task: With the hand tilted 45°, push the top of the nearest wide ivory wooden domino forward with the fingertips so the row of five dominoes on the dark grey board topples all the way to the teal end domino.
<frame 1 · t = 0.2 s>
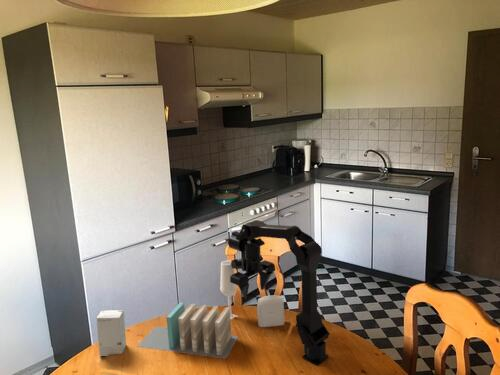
hand: (253, 293, 155), 15 cm above the table, tool pointing down, fingers open, 9 cm apart
domino 1: (224, 345, 147), point 1 cm above the table, touching domino board
domino 2: (212, 344, 148), point 1 cm above the table, touching domino board
skincare box: (114, 352, 148), on the table
domino 5: (178, 339, 152), point 1 cm above the table, touching domino board
domino 4: (189, 341, 150), point 1 cm above the table, touching domino board
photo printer: (271, 326, 160), on the table
champagne flute: (230, 319, 167), on the table
domino board: (188, 343, 151), on the table
domino 3: (201, 342, 149), point 1 cm above the table, touching domino board
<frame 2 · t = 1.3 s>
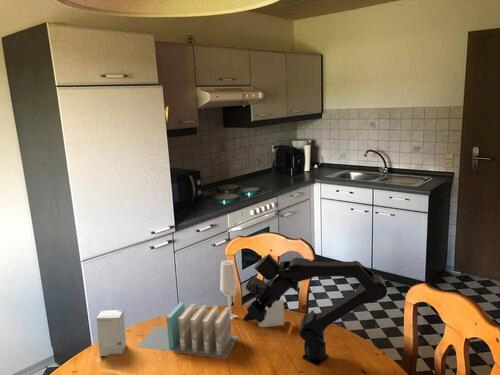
hand: (246, 315, 142), 14 cm above the table, tool tilted 45°, fingers open, 6 cm apart
nothing on the table moved.
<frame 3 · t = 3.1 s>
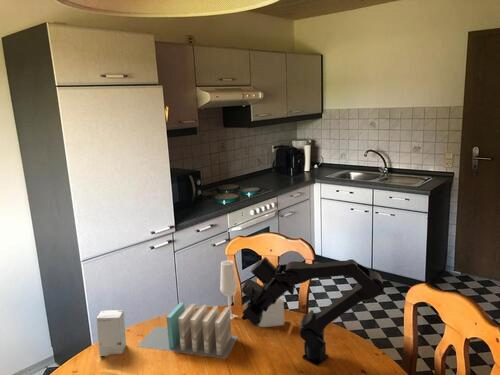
hand: (242, 318, 142), 12 cm above the table, tool tilted 45°, fingers closed
nothing on the table moved.
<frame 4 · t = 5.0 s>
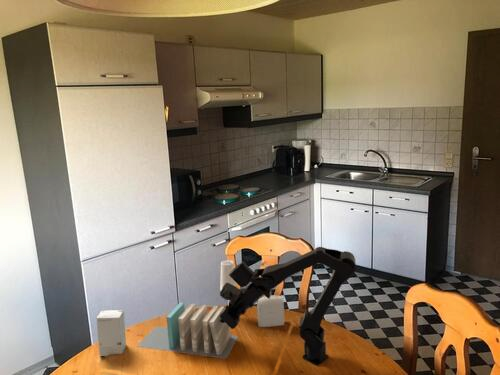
hand: (221, 321, 145), 10 cm above the table, tool tilted 45°, fingers closed
domino 1: (224, 345, 147), point 1 cm above the table, tilted 10°, touching domino board
everything else where it was.
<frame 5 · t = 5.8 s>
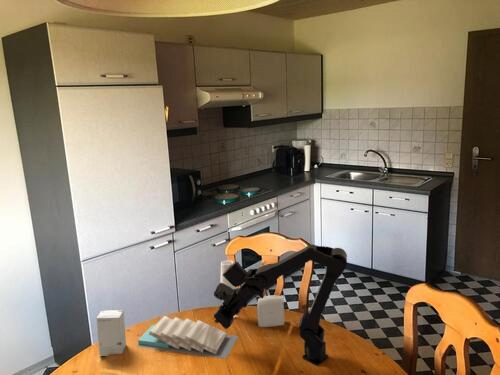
hand: (215, 321, 145), 10 cm above the table, tool tilted 45°, fingers closed
domino 1: (221, 343, 147), point 2 cm above the table, tilted 70°, touching domino 2, domino board
domino 2: (208, 341, 148), point 2 cm above the table, tilted 69°, touching domino 1, domino 3, domino board
domino 5: (175, 337, 152), point 2 cm above the table, tilted 90°, touching domino 4, domino board
domino 4: (185, 338, 151), point 2 cm above the table, tilted 68°, touching domino 3, domino 5
domino 3: (197, 340, 149), point 2 cm above the table, tilted 68°, touching domino 2, domino 4, domino board
everything else where it was.
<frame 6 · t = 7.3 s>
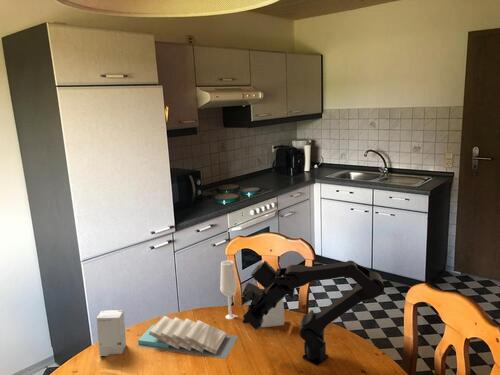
hand: (243, 322, 142), 11 cm above the table, tool tilted 45°, fingers closed
nothing on the table moved.
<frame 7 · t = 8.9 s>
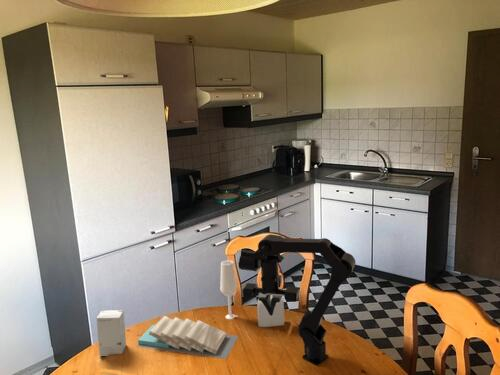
hand: (271, 315, 142), 13 cm above the table, tool pointing down, fingers closed
nothing on the table moved.
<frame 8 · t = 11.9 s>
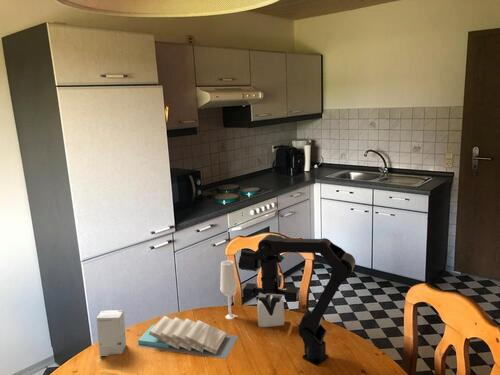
hand: (271, 315, 142), 13 cm above the table, tool pointing down, fingers closed
nothing on the table moved.
at the end: domino 5 tilted 90°; domino 1 tilted 70°; domino 3 tilted 68° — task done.
